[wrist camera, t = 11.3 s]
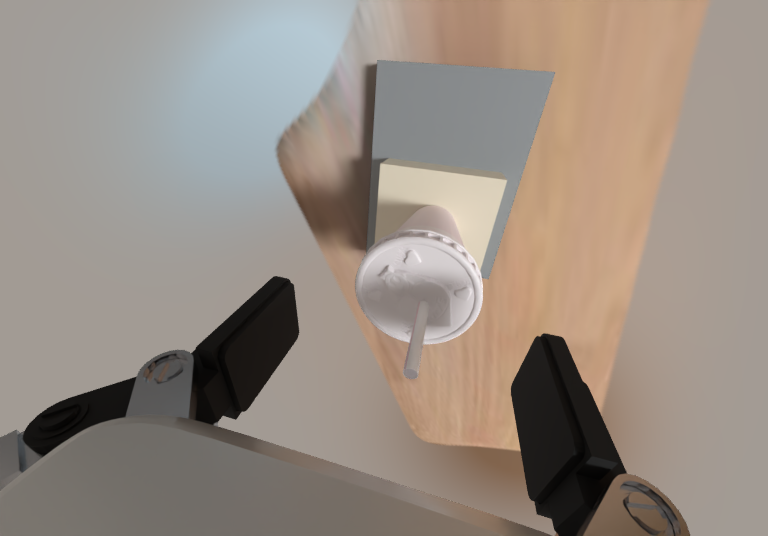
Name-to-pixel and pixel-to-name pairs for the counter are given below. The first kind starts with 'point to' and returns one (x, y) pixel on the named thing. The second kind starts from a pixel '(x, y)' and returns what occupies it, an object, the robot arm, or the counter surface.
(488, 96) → the base board
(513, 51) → the counter surface
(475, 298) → the smoothie
